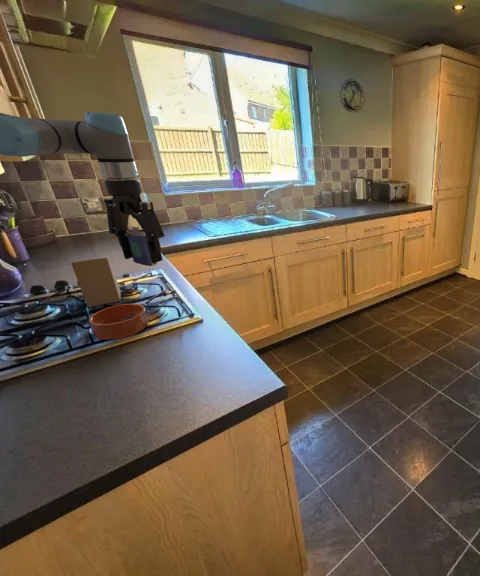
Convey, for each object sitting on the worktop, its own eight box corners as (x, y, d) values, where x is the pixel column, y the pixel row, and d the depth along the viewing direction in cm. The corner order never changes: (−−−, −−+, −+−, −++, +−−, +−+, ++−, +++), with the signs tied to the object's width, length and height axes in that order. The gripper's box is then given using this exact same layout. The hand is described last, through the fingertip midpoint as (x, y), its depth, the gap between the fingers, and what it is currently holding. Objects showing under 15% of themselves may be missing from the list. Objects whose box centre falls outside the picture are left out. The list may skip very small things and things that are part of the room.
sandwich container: (120, 284, 118) (107, 244, 112) (121, 300, 107) (107, 257, 101) (89, 290, 113) (74, 248, 107) (87, 307, 102) (70, 262, 96)
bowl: (83, 337, 88) (76, 320, 86) (125, 315, 99) (120, 301, 97) (119, 344, 85) (114, 328, 83) (159, 322, 96) (155, 307, 94)
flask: (159, 264, 95) (149, 227, 91) (148, 267, 93) (138, 230, 88) (140, 258, 99) (130, 223, 94) (130, 261, 96) (119, 225, 92)
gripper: (167, 180, 87) (185, 259, 97) (103, 175, 92) (125, 251, 101) (142, 183, 81) (164, 268, 90) (74, 177, 85) (101, 259, 94)
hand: (143, 259), depth 95 cm, fingers closed on flask, 9 cm apart
